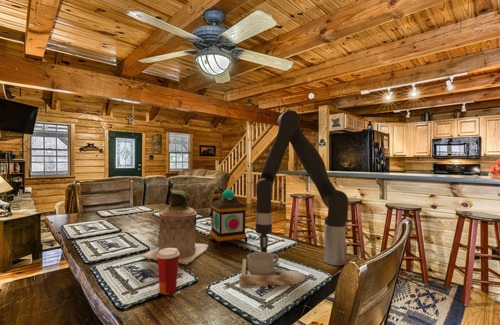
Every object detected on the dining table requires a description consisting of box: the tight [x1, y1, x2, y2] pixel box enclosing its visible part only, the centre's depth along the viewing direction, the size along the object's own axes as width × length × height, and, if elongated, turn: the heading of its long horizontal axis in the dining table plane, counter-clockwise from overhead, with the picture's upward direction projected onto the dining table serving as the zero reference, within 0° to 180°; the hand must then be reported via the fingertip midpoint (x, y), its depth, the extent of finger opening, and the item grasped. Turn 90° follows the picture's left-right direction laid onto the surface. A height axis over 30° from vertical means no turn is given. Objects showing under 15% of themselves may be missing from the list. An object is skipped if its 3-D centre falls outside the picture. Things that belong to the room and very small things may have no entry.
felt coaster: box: [279, 270, 306, 284], centre depth 101 cm, size 10×10×1 cm
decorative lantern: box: [208, 188, 248, 248], centre depth 145 cm, size 20×20×30 cm
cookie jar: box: [141, 188, 209, 265], centre depth 125 cm, size 25×25×32 cm
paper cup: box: [156, 248, 180, 296], centre depth 89 cm, size 8×8×14 cm
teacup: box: [246, 251, 280, 275], centre depth 103 cm, size 14×11×8 cm
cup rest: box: [238, 258, 294, 286], centre depth 103 cm, size 20×17×3 cm
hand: (263, 259), depth 116 cm, fingers closed
